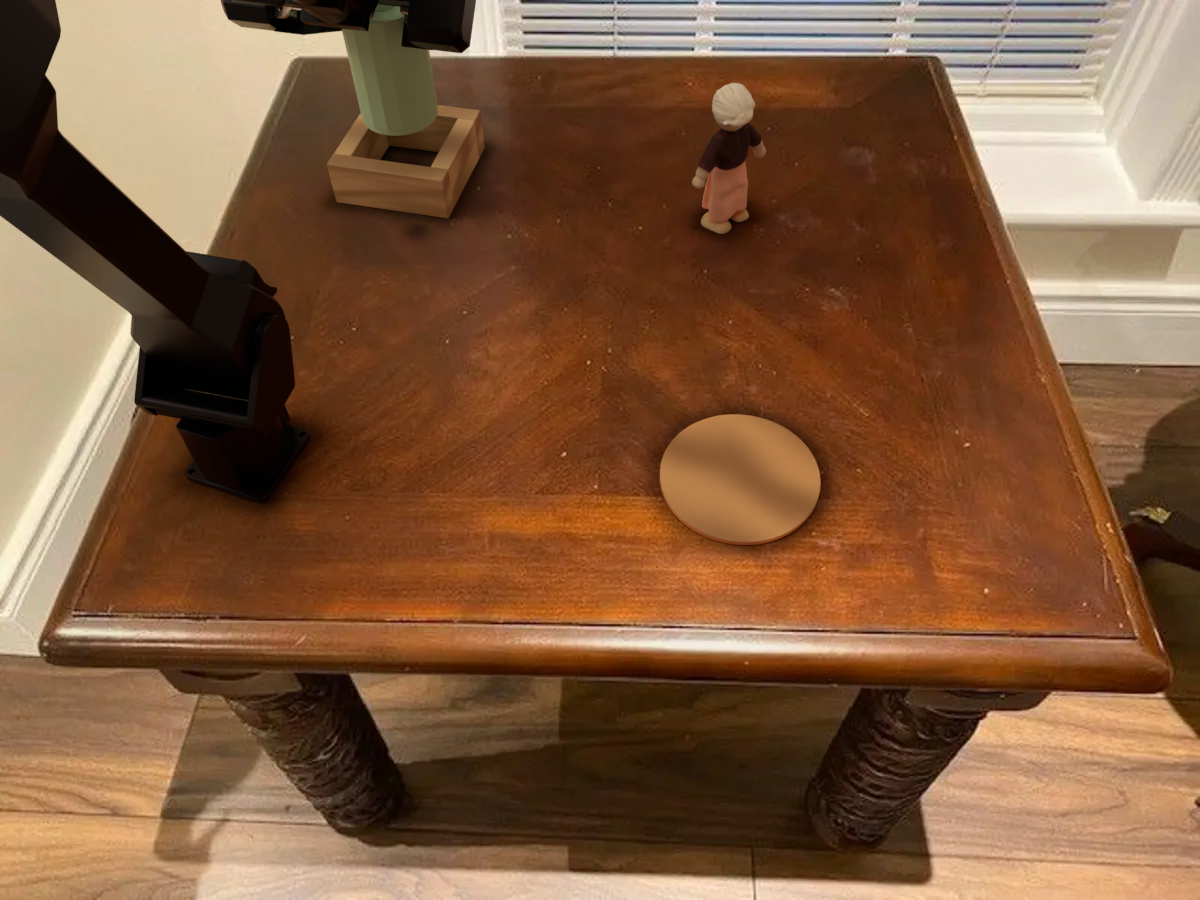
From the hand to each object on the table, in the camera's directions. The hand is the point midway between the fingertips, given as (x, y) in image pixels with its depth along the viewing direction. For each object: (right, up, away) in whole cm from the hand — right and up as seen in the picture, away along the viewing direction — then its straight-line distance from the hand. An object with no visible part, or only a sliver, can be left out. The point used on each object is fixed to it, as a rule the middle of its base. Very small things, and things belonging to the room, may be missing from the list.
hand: (392, 27), depth 83 cm
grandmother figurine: (+27, -15, +5) cm, 31 cm away
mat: (+26, -36, -12) cm, 46 cm away
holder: (0, -9, +10) cm, 13 cm away
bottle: (0, -5, +5) cm, 7 cm away
